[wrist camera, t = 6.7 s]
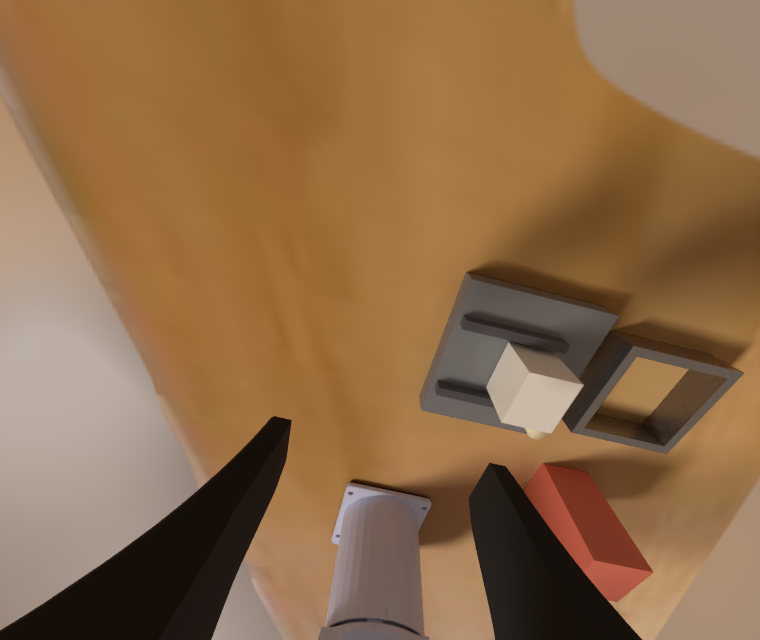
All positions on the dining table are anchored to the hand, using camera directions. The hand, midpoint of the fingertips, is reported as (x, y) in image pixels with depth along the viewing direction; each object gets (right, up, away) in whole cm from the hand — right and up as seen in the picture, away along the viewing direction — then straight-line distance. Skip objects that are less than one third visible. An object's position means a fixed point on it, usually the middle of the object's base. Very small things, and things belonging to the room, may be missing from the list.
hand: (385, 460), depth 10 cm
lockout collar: (+18, 0, +10) cm, 20 cm away
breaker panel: (+8, +3, +10) cm, 13 cm away
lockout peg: (+15, -9, +15) cm, 23 cm away
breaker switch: (+9, +2, +8) cm, 12 cm away
